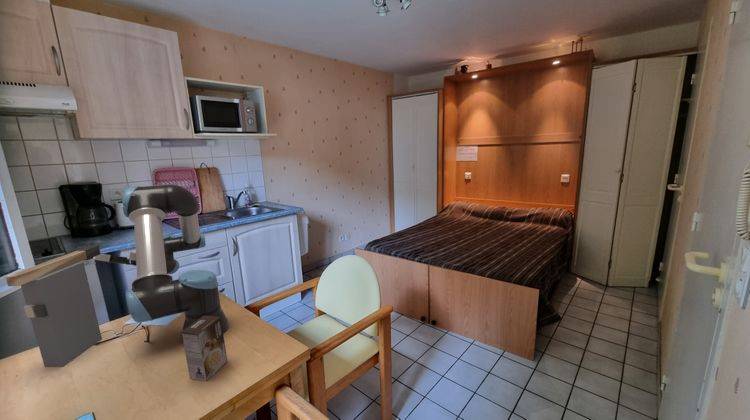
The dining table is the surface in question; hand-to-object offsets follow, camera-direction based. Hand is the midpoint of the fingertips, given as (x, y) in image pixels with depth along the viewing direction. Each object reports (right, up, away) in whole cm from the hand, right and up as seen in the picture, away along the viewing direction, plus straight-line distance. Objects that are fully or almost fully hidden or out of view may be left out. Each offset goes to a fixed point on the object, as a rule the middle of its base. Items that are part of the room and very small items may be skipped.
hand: (111, 255), depth 119 cm
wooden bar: (0, -1, -19) cm, 19 cm away
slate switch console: (0, -31, -15) cm, 34 cm away
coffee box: (+51, -32, -24) cm, 65 cm away
